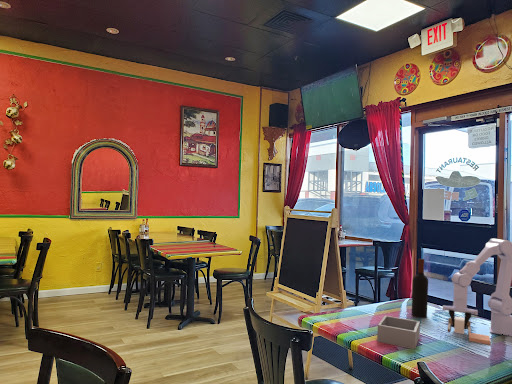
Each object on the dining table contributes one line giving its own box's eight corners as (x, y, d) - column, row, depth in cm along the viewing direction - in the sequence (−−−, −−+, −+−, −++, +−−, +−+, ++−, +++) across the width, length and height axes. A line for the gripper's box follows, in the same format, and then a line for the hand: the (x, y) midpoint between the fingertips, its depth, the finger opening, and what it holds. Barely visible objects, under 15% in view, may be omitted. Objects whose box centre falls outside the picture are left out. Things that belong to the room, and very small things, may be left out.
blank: (463, 330, 188) (464, 317, 188) (463, 334, 182) (464, 321, 183) (454, 328, 190) (454, 316, 190) (454, 332, 184) (454, 319, 184)
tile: (489, 339, 177) (489, 335, 177) (490, 344, 170) (490, 341, 170) (468, 335, 181) (468, 332, 181) (469, 340, 174) (469, 337, 174)
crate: (419, 337, 175) (419, 321, 175) (415, 349, 160) (415, 331, 160) (384, 330, 182) (384, 315, 182) (377, 341, 167) (377, 324, 167)
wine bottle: (412, 316, 207) (414, 259, 208) (410, 312, 215) (413, 257, 215) (427, 318, 205) (430, 260, 206) (426, 314, 212) (428, 258, 213)
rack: (470, 327, 194) (470, 321, 194) (470, 335, 181) (471, 328, 181) (448, 323, 198) (448, 317, 198) (447, 331, 186) (447, 324, 186)
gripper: (477, 299, 187) (476, 328, 187) (443, 294, 193) (442, 322, 193) (478, 302, 181) (477, 332, 180) (443, 297, 187) (442, 326, 186)
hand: (459, 327), depth 186 cm, fingers closed on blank, 4 cm apart
